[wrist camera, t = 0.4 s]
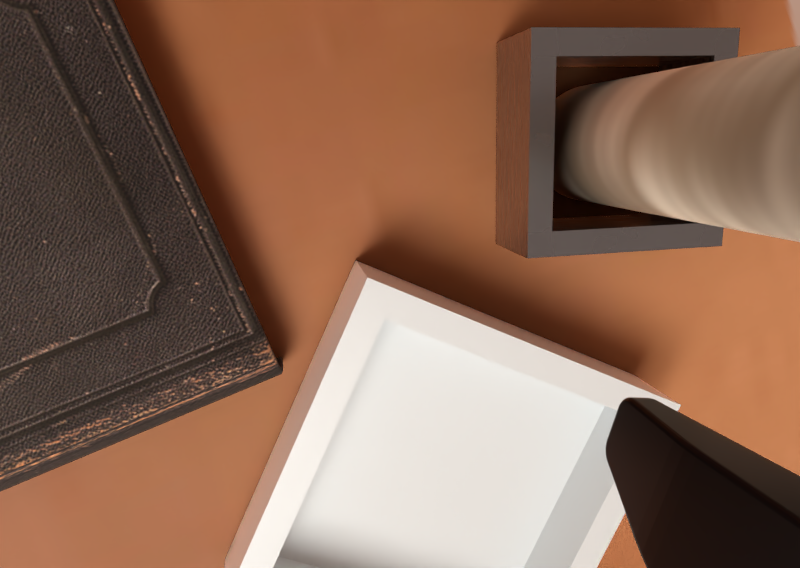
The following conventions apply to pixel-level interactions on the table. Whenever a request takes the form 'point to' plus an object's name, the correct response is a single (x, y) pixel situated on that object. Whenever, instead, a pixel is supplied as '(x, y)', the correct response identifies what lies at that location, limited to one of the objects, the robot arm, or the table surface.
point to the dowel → (690, 143)
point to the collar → (535, 132)
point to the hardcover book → (103, 249)
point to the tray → (438, 444)
